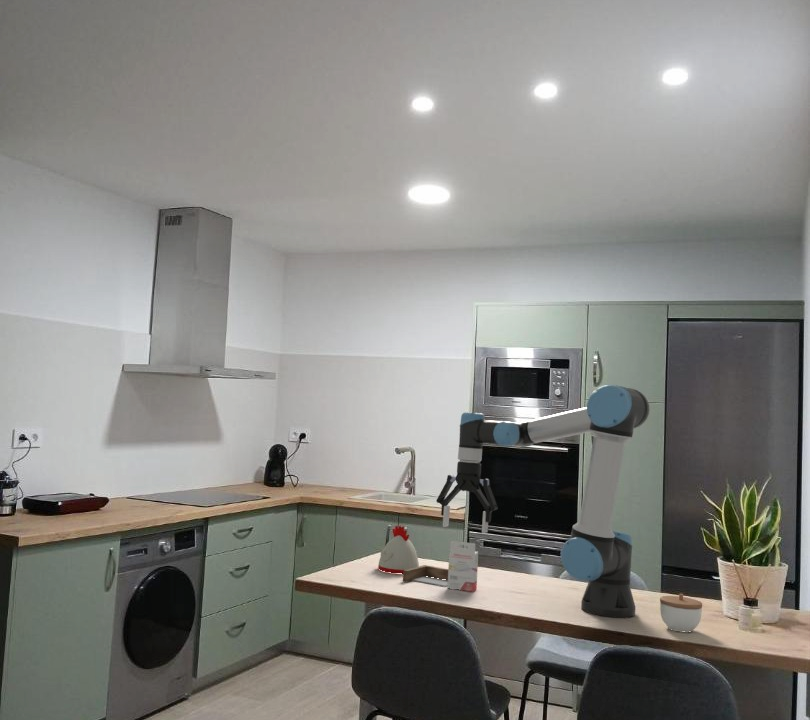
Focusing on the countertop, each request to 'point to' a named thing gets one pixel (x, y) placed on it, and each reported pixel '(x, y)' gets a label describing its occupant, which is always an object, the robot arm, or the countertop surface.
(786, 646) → the countertop surface
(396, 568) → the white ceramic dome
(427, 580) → the pad
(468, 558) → the ink cartridge box
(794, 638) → the countertop surface
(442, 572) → the corner walls
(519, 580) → the countertop surface
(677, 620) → the lidded jar
